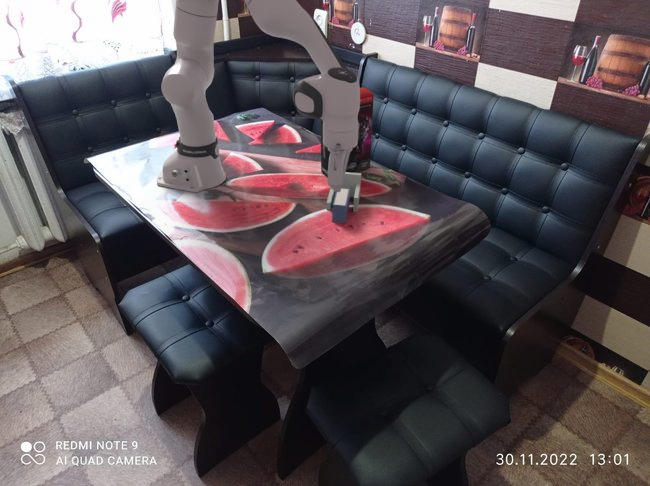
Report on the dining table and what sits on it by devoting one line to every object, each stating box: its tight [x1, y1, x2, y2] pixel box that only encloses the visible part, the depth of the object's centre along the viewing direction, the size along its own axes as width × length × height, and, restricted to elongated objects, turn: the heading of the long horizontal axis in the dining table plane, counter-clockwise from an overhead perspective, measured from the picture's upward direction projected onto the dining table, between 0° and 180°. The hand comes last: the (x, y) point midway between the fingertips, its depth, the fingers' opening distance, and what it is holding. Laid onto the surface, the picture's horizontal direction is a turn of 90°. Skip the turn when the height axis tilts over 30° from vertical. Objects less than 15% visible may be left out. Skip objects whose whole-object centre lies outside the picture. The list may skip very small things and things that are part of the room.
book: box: [331, 188, 351, 224], centre depth 144 cm, size 4×10×6 cm, turn 172°
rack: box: [326, 172, 362, 213], centre depth 149 cm, size 9×10×8 cm
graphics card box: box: [319, 86, 375, 178], centre depth 161 cm, size 17×7×27 cm, turn 120°
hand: (338, 185), depth 129 cm, fingers open, 5 cm apart
